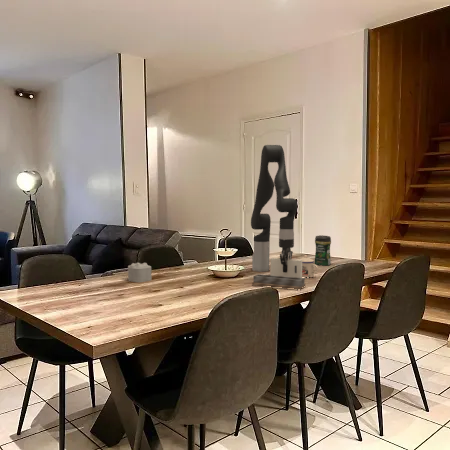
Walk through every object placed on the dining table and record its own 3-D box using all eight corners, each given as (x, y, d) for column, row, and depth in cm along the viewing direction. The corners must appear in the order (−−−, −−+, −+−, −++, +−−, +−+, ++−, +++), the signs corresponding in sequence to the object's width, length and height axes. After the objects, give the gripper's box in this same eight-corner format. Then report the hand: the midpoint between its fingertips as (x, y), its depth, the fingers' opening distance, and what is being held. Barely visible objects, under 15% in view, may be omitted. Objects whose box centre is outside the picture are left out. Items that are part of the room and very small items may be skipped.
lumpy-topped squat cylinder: (137, 283, 227) (136, 266, 227) (123, 279, 237) (123, 263, 236) (154, 280, 235) (153, 263, 234) (140, 276, 244) (139, 261, 243)
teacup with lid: (293, 277, 241) (293, 255, 241) (302, 274, 248) (302, 253, 247) (313, 279, 234) (313, 257, 233) (321, 277, 240) (322, 255, 240)
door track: (252, 285, 219) (252, 276, 219) (259, 282, 227) (259, 273, 227) (299, 290, 208) (299, 281, 208) (305, 286, 216) (305, 277, 216)
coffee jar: (312, 264, 281) (312, 235, 280) (319, 263, 287) (319, 234, 285) (326, 266, 274) (326, 236, 273) (332, 265, 280) (333, 235, 279)
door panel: (269, 279, 230) (270, 258, 229) (272, 278, 232) (272, 257, 232) (300, 282, 223) (300, 260, 222) (302, 281, 225) (302, 260, 224)
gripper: (283, 236, 234) (283, 269, 235) (274, 238, 221) (274, 273, 223) (297, 236, 230) (297, 270, 232) (289, 239, 218) (288, 274, 219)
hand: (286, 271), depth 227 cm, fingers closed on door panel, 2 cm apart
